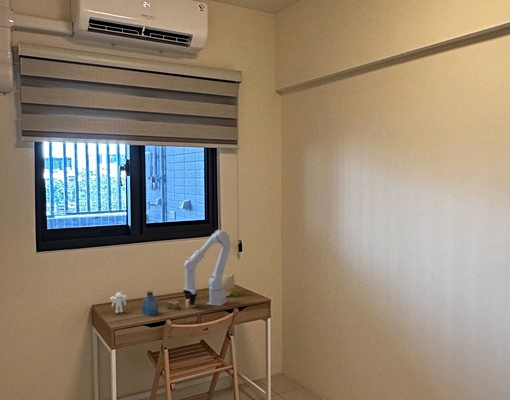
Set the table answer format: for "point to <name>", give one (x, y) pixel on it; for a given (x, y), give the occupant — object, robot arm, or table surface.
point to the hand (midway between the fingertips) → (190, 303)
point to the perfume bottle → (149, 305)
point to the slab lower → (173, 307)
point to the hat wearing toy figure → (118, 301)
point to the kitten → (228, 284)
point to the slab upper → (173, 303)
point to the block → (189, 304)
